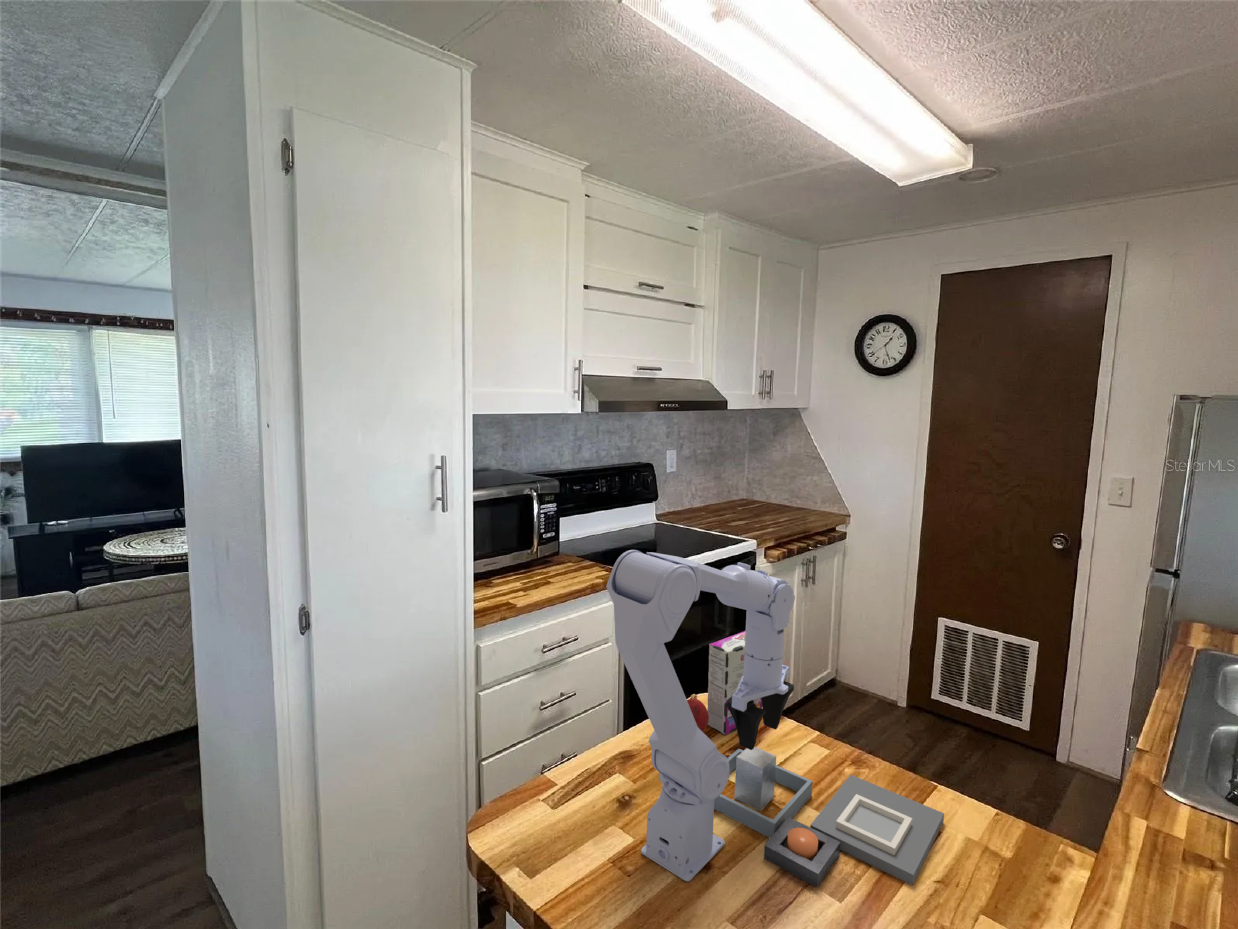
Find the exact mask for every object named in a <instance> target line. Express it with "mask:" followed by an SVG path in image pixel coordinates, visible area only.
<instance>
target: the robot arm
mask: <svg viewBox="0 0 1238 929" xmlns="http://www.w3.org/2000/svg"><path fill="white" fill-rule="evenodd" d="M751 567H752V566H751V565H750V564H747V563H743V562H737V564H730V565H727V566H725V567H723V568H722V569H721V570H720V569H718V568H715V567H713V566H712V567H711V566H710V565H706V564H703V563H700V562H697V561H694V560H691V559H687V558H684V557H680V556H675V555H669V554H664V553H658V552H652V551H651V552H648V551H646V553H643V552H642V551H640V550H637V549H630V550H626V551H625V552H623V553H622V554H620V556H618V558H617V559H616V561H615V563H614V564H613V567H612V569H611V572H610V574H609V578H608V579H607V584H606V586H605V587H606V589H607V592H608V595H609V596H610V599H611V601H612V603H613V615H614V618H613V619H614V638H615V644H616V648H617V651H618V653H619V655H620V657H621V660H622V662H623V664H624V665H625V668H626V670H627V672H628V675H629V677H630V680H631V682H632V684H633V686H634V688H635V690H636V692H637V694H638V697H639V699H640V701H641V703H642V706H643V708H644V710H645V713H646V715H647V717H648V719H649V721H650V724H651V726H652V728H653V731H652V733H651V735H650V736H649V739H648V743H649V745H650V748H651V750H650V751H651V764H652V767H653V768H654V769H655V770H656V771H657V772H658V773H659V774H658V780H659V781H660V782H661V784H662V787H661V790H660V795H659V796H658V798H657V800H656V801H655V803H654V804H653V805H652V806H651V808H649V811H648V813H647V816H646V817H647V818H646V819H647V820H646V841H645V842H646V844H645V845H644V846H643V847H642V848H641V850H640V853H641V854H642V855H643V856H645V857H647V858H648V859H650V860H652V861H653V862H655V863H656V864H658V865H659V866H661V867H662V868H664V869H665V870H667V871H669V872H670V873H672V874H673V875H675V876H677V877H678V878H680V879H681V880H683V881H685V882H691V880H692V879H693V878H694V877H695V876H696V875H697V874H698V873H699V872H700V871H701V870H702V869H703V868H704V867H705V866H706V865H707V864H708V862H709V861H710V860H712V859H713V858H714V857H715V855H716V854H717V853H718V852H719V851H720V850H721V849H722V848H723V847H724V846H725V843H726V842H725V840H724V839H723V838H721V837H719V836H718V835H716V834H714V818H715V817H714V816H715V809H714V801H715V798H717V797H718V796H719V795H720V794H722V793H723V792H724V790H725V788H726V787H727V784H728V782H729V777H730V774H729V761H728V759H727V758H728V756H726V755H725V754H723V753H722V752H720V751H719V750H718V748H717V745H716V744H715V743H714V742H713V741H712V740H711V739H710V738H709V737H708V736H707V735H706V734H705V733H704V731H703V732H702V731H701V730H700V729H699V728H698V727H697V724H696V722H695V719H694V717H693V714H692V712H691V709H690V707H689V704H688V702H687V700H688V699H687V697H686V695H685V693H684V690H683V687H682V685H681V683H680V680H679V677H678V676H677V673H676V670H675V668H674V666H673V662H672V660H671V659H670V655H669V653H668V650H667V648H666V646H665V643H668V642H671V641H672V640H673V639H674V637H675V635H676V634H677V631H678V629H679V628H680V626H681V624H682V623H683V621H684V619H685V617H686V615H687V613H688V612H689V610H690V608H691V606H692V604H693V602H696V601H698V600H699V597H700V593H701V591H702V592H708V593H713V594H715V595H716V597H717V599H718V600H719V602H721V603H722V604H723V605H726V606H729V607H733V608H738V609H742V610H746V617H745V618H746V619H745V631H746V633H745V652H744V672H743V676H742V678H741V681H740V683H739V686H738V688H737V690H736V692H735V693H734V694H733V695H732V697H730V698H729V699H728V700H727V708H728V709H729V711H730V713H731V715H732V717H733V719H734V722H735V725H736V734H737V737H738V742H739V746H740V747H743V748H745V749H746V748H747V749H750V750H752V749H754V747H756V743H757V740H758V739H757V738H758V731H759V727H760V724H761V722H763V726H766V727H768V728H771V729H772V730H777V729H778V728H779V724H780V722H781V719H782V715H783V712H784V709H785V707H786V705H787V704H786V703H787V702H788V700H789V698H790V697H791V695H792V694H793V692H794V691H795V687H794V686H795V685H794V684H793V683H791V682H788V681H787V680H788V679H789V676H790V675H789V674H790V666H787V665H785V664H783V662H784V661H783V659H784V645H785V644H784V641H785V629H786V628H787V627H788V625H789V622H790V620H789V619H790V615H791V611H792V609H793V607H794V604H795V600H796V595H794V589H793V587H792V586H791V585H790V584H789V582H788V581H787V580H785V579H783V578H782V579H781V578H779V577H774V576H771V575H768V574H769V573H768V572H767V571H766V570H762V569H757V570H756V571H755V570H752V569H751ZM758 698H761V699H762V709H760V708H758V707H756V704H754V699H758Z"/></svg>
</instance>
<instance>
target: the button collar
mask: <svg viewBox="0 0 1238 929" xmlns="http://www.w3.org/2000/svg"><path fill="white" fill-rule="evenodd" d="M793 828H804V829H807V830H810V831H811V832H813V833H814V834H815V835H816V836H817V838H818V852H817V855H816V856H815V858H814V859H813V860H812V861H810V860H808V859H806V858H804V857H802V856H800V855H798V854H797V853H795V852H793V851H791V850H789V849H787V840H788V832H789V831H790V830H791V829H793ZM763 846H764V847H763V859H764V860H765V861H767V862H770V863H771V864H772V865H775V866H776V867H778V868H780V869H781V870H784V871H785V872H787V873H789V874H791V875H793V876H794V877H796V878H798V879H800V880H802V881H804V882H806V883H807V884H809V885H811V886H813V887H814V888H819V886H820V885H821V883H822V881H823V880H824V879H825V877H826V876H827V874H828V873H829V872H830V870H831V868H832V867H833V866H834V864H835V862H837V860H838V858H839V857H840V853H841V852H840V851H841V850H840V842H839V841H837V840H835V839H833V838H831V837H829V836H827V835H825V834H823V833H821V832H818V831H816V830H814V829H812V828H810V826H808V825H806V824H804V823H802V822H800V821H798V820H795V819H794V818H790V817H788V818H787V820H786V821H785V822H784V823H783V824H782V825H781V827H780V828H779V829H778V830H777V831H776V832H775V833H774V835H773V836H772V837H771V838H769V839H768V840H767V842H765V844H764V845H763Z"/></svg>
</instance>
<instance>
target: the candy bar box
mask: <svg viewBox="0 0 1238 929" xmlns="http://www.w3.org/2000/svg"><path fill="white" fill-rule="evenodd" d="M745 633H746V630H744V631H741V632H739V633H737V634H734V635H730V636H728V637H725V638H722V639H720V640H717V641H714V642H711V643H709V644H708V675H707V676H708V677H707V678H708V680H707V682H708V683H707V685H708V686H707V707H706V709H707V711H708V715H709V722H708V725H707V726H709V727H710V728H712V729H713V730H715V731H717V732H718V733H720V734H723V735H724V736H725V735H728V734H730V733H733V732H735V731H737V729H736V725H735V722H734V719H733V717H732V715H731V713H730V711H729V709H728V708H727V700H728V699H729V698H730V697H732V695H733V694H734V693H735V692H736V690H737V688H738V686H739V683H740V681H741V678H742V676H743V672H744V652H745ZM754 704H756V707H758V708H760V709H762V699H761V698H758V699H754Z"/></svg>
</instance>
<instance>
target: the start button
mask: <svg viewBox="0 0 1238 929" xmlns="http://www.w3.org/2000/svg"><path fill="white" fill-rule="evenodd" d="M787 849H789V850H791V851H793V852H795V853H797V854H798V855H800V856H802V857H804V858H806V859H808V860H810V861H812V860H813V859H814V858H815V856H816V855H817V854H818V838H817V836H816V835H815V834H814V833H813V832H811V831H810V830H807V829H804V828H793V829H791V830H790V831H789V832H788V840H787Z"/></svg>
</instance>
